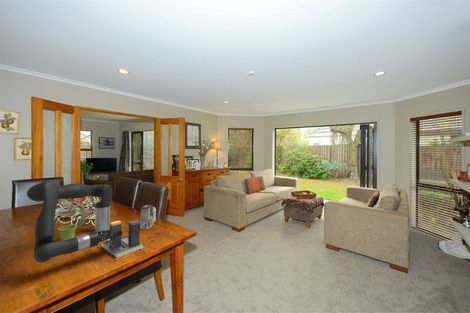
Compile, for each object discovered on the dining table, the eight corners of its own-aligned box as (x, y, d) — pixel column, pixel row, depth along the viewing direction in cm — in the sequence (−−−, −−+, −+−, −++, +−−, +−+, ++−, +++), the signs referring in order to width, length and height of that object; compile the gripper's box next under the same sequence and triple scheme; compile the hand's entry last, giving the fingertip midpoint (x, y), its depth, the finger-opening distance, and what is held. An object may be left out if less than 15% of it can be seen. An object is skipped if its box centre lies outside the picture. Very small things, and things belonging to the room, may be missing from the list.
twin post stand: (101, 246, 124) (102, 220, 124) (127, 238, 136) (127, 214, 135) (116, 258, 112) (116, 228, 111) (142, 248, 124) (143, 221, 123)
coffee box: (145, 224, 162) (145, 204, 162) (153, 225, 162) (153, 204, 162) (139, 229, 153) (140, 207, 153) (148, 229, 153) (148, 208, 152)
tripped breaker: (109, 246, 120) (109, 222, 119) (118, 243, 124) (118, 220, 123) (111, 248, 118) (112, 224, 117) (121, 245, 122) (121, 221, 121)
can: (147, 220, 172) (147, 206, 172) (156, 220, 173) (157, 206, 172) (144, 223, 165) (144, 208, 164) (154, 223, 165) (154, 208, 165)
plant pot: (80, 239, 134) (80, 225, 133) (64, 245, 125) (64, 231, 124) (70, 236, 137) (70, 223, 136) (54, 242, 128) (54, 228, 128)
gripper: (91, 238, 105) (126, 228, 118) (82, 230, 113) (115, 222, 127) (91, 252, 105) (126, 241, 119) (82, 244, 113) (115, 234, 127)
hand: (120, 231), depth 123 cm, fingers closed on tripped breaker, 3 cm apart
